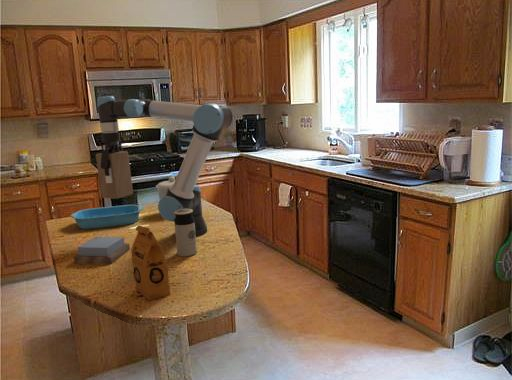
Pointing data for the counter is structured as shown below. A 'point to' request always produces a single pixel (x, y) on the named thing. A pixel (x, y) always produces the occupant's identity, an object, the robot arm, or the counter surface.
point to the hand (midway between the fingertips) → (116, 180)
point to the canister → (164, 186)
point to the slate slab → (101, 246)
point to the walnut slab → (102, 257)
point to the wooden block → (116, 176)
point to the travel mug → (185, 232)
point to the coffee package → (149, 265)
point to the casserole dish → (107, 216)
